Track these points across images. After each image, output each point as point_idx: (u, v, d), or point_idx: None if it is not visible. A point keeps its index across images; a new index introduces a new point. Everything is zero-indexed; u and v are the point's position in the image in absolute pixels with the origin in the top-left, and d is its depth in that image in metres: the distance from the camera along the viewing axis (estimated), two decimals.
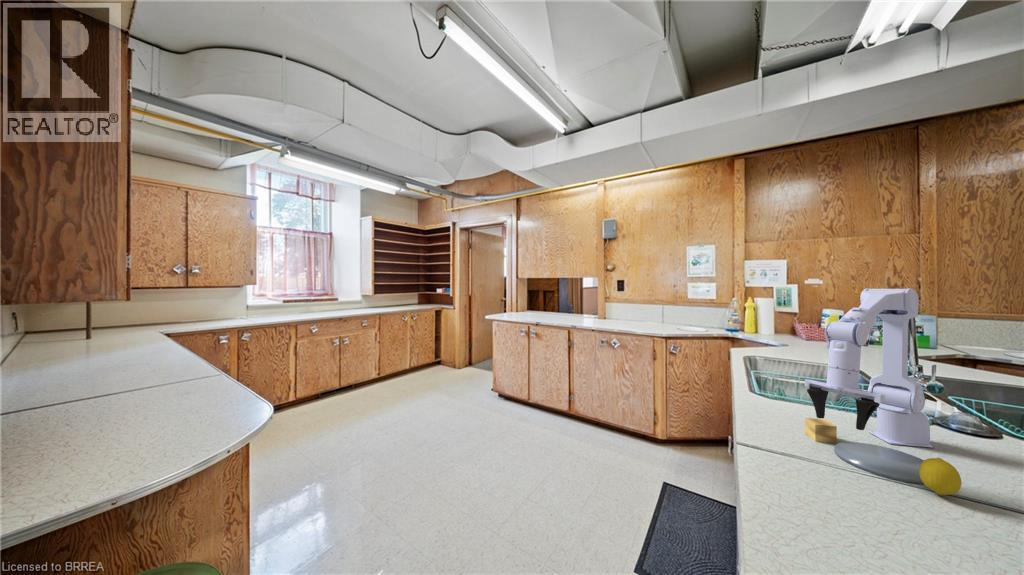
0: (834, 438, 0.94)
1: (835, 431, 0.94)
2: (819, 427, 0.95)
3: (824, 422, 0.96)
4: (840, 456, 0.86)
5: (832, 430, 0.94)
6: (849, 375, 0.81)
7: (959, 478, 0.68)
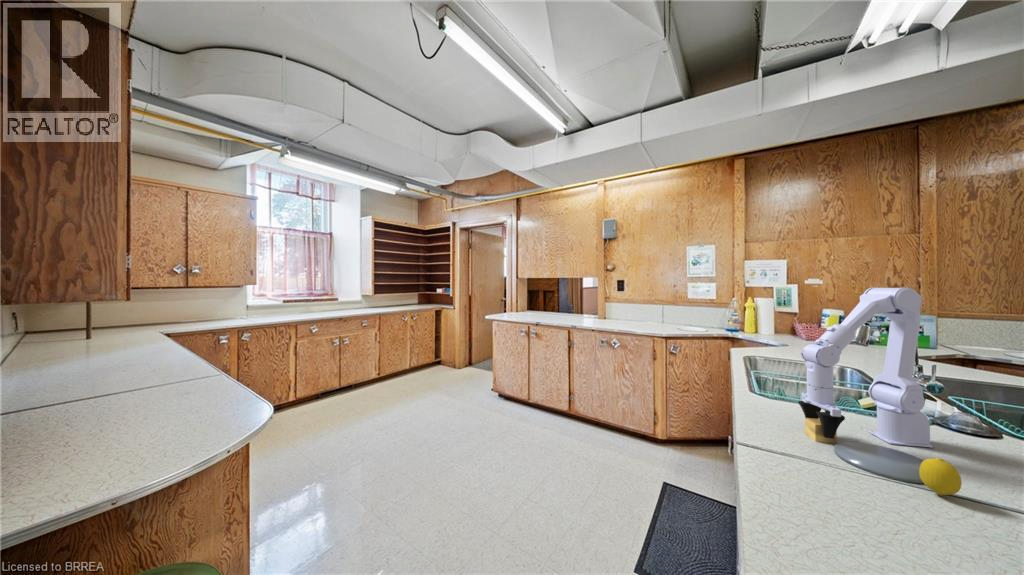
0: (834, 438, 0.94)
1: None
2: (819, 427, 0.95)
3: None
4: (840, 456, 0.86)
5: None
6: (815, 391, 0.95)
7: (959, 478, 0.68)
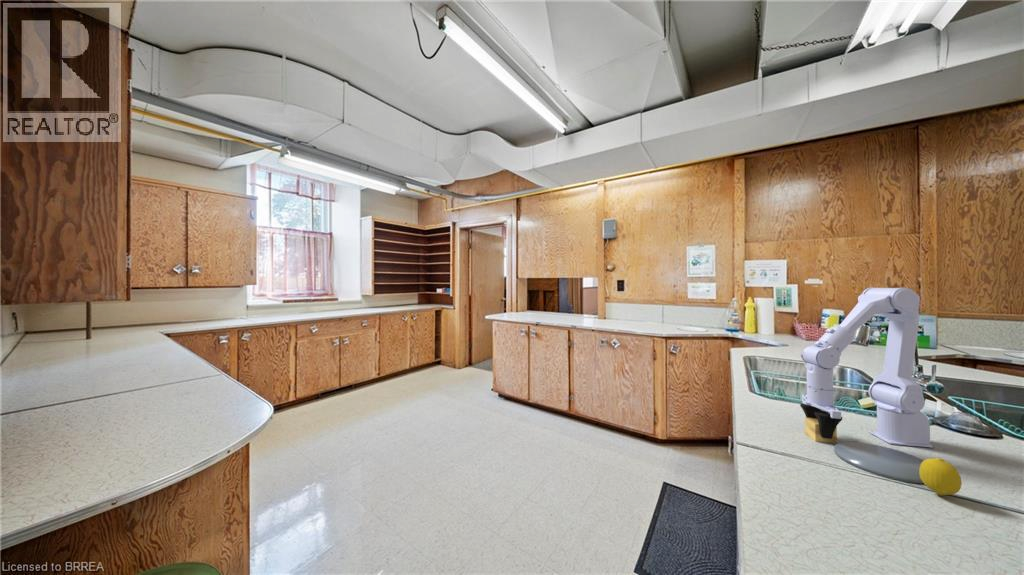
0: (834, 438, 0.94)
1: (835, 431, 0.94)
2: (819, 427, 0.95)
3: None
4: (840, 456, 0.86)
5: None
6: (815, 393, 0.95)
7: (959, 478, 0.68)
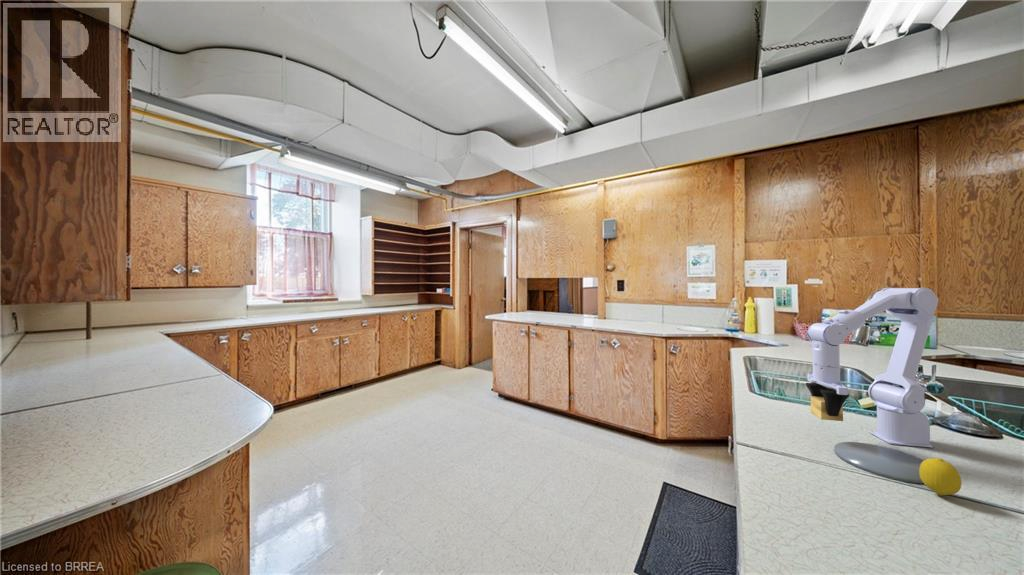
0: (840, 415, 0.92)
1: (841, 408, 0.92)
2: (825, 405, 0.93)
3: None
4: (840, 456, 0.86)
5: None
6: (821, 370, 0.94)
7: (959, 478, 0.68)
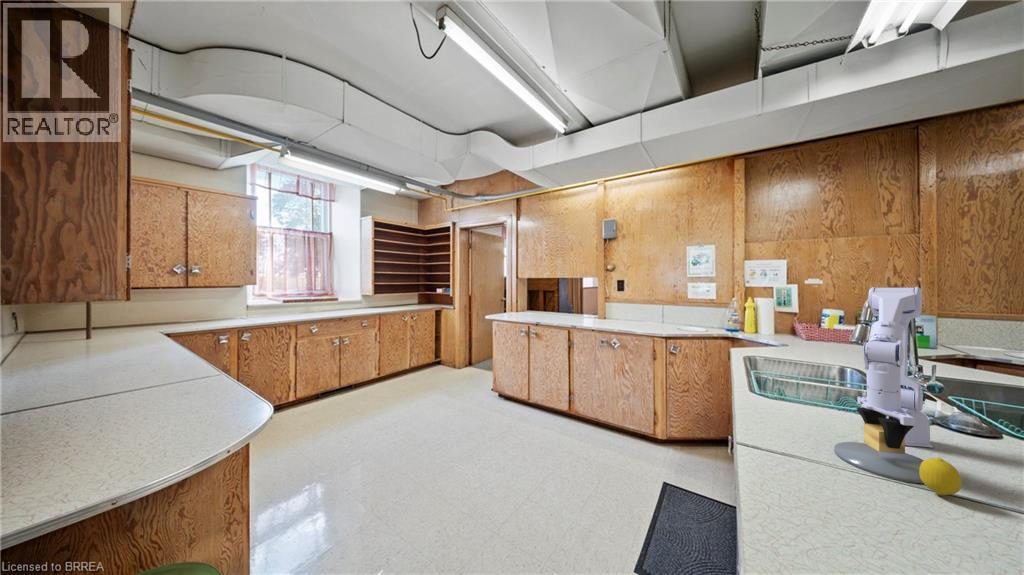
0: (902, 447, 0.80)
1: (903, 439, 0.80)
2: (884, 435, 0.81)
3: None
4: (840, 456, 0.86)
5: None
6: (879, 395, 0.82)
7: (959, 478, 0.68)
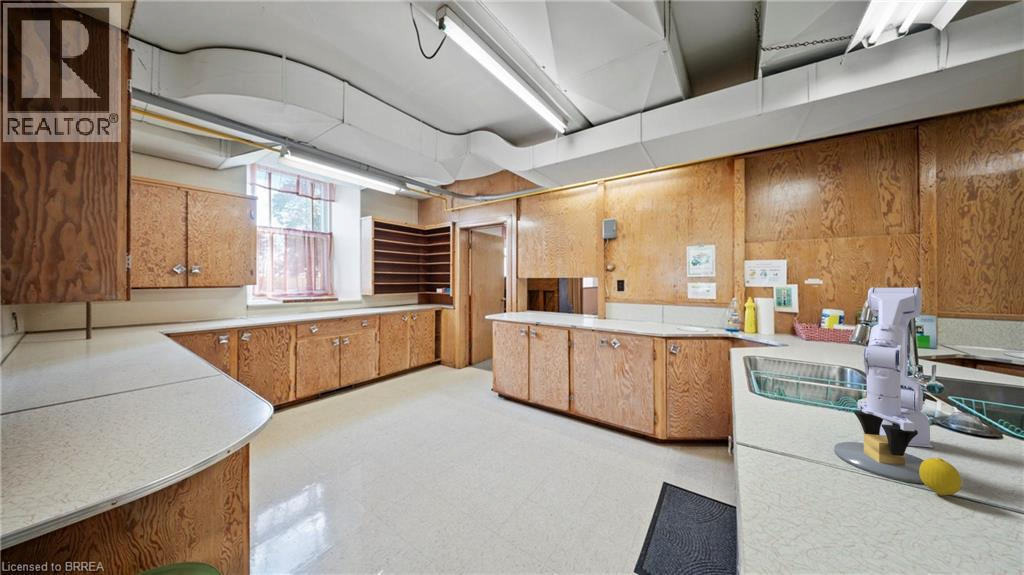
0: (902, 459, 0.80)
1: None
2: (884, 446, 0.81)
3: None
4: (840, 456, 0.86)
5: None
6: (879, 400, 0.82)
7: (959, 478, 0.68)
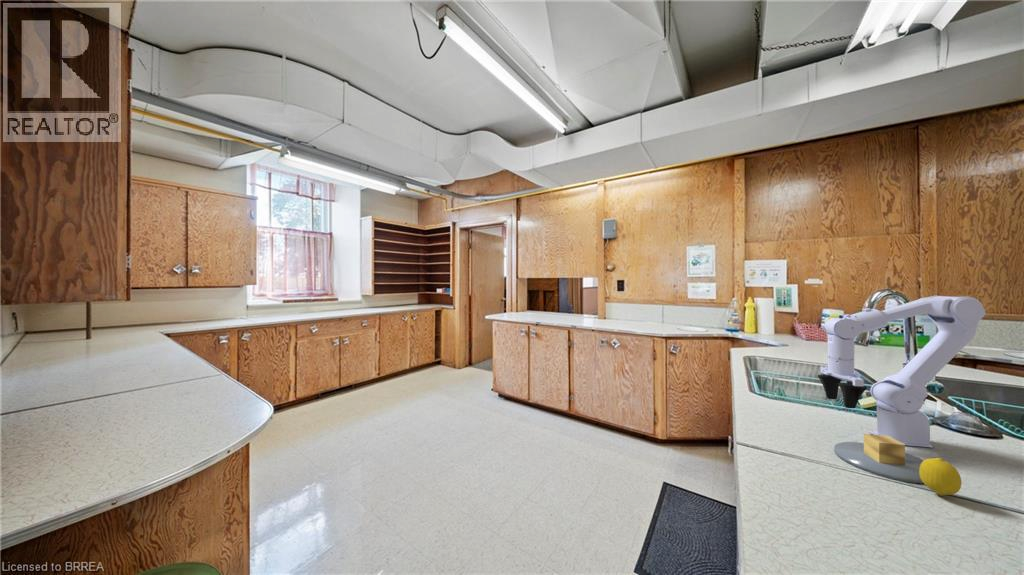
0: (902, 459, 0.80)
1: (903, 451, 0.80)
2: (884, 446, 0.81)
3: (888, 439, 0.83)
4: (840, 456, 0.86)
5: (899, 449, 0.80)
6: (837, 363, 0.97)
7: (959, 478, 0.68)
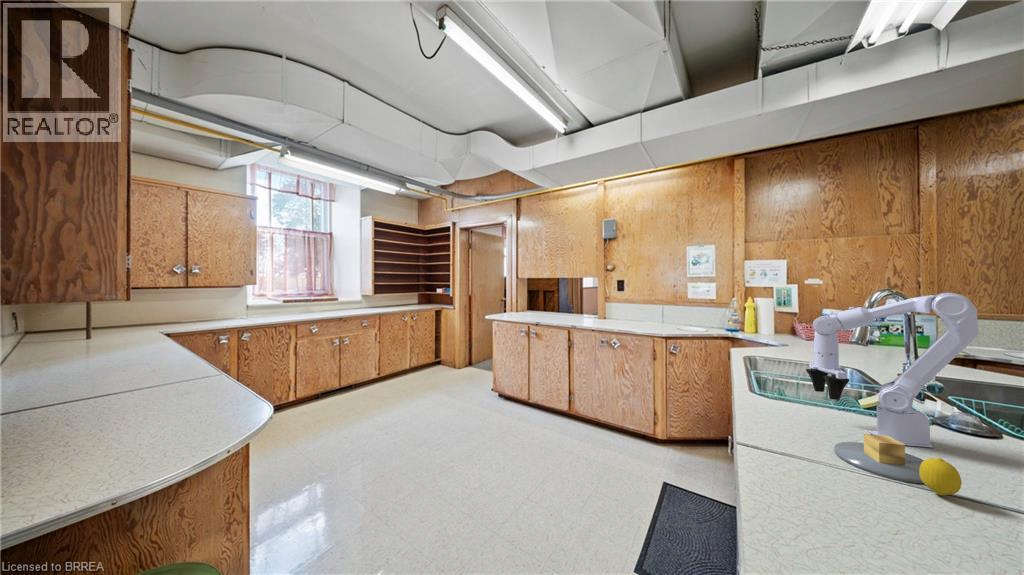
0: (902, 459, 0.80)
1: (903, 451, 0.80)
2: (884, 446, 0.81)
3: (888, 439, 0.83)
4: (840, 456, 0.86)
5: (899, 449, 0.80)
6: (822, 357, 1.05)
7: (959, 478, 0.68)
